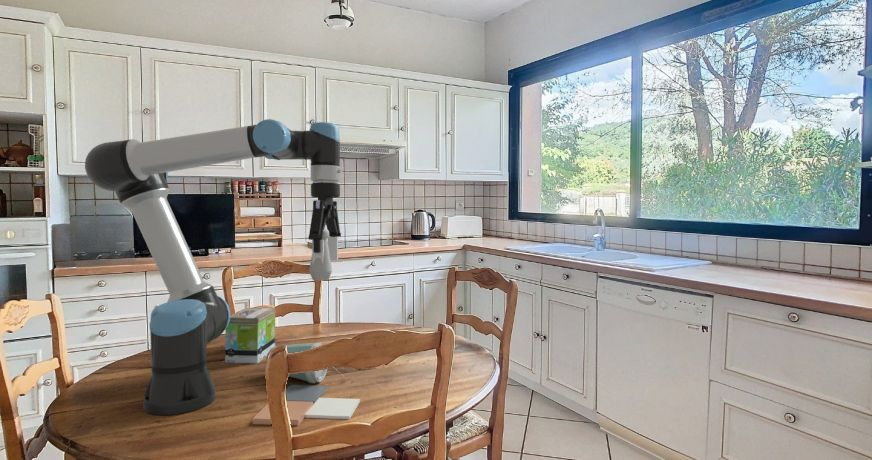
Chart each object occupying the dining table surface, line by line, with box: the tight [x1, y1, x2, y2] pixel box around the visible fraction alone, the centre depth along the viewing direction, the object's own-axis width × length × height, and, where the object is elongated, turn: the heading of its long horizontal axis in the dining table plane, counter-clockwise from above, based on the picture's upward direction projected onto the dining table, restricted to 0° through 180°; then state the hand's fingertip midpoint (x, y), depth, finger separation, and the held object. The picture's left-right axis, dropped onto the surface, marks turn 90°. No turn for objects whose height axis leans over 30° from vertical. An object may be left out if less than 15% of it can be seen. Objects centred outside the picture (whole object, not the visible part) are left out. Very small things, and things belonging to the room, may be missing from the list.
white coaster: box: [304, 397, 361, 420], centre depth 114 cm, size 10×10×1 cm
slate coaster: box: [285, 384, 329, 404], centre depth 123 cm, size 10×10×1 cm
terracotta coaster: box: [252, 401, 313, 426], centre depth 111 cm, size 10×10×1 cm
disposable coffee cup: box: [265, 342, 328, 384], centre depth 133 cm, size 11×11×15 cm
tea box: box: [224, 307, 276, 364], centre depth 151 cm, size 15×10×15 cm, turn 179°
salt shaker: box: [308, 228, 333, 282], centre depth 127 cm, size 6×6×13 cm
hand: (325, 262), depth 132 cm, fingers open, 13 cm apart
